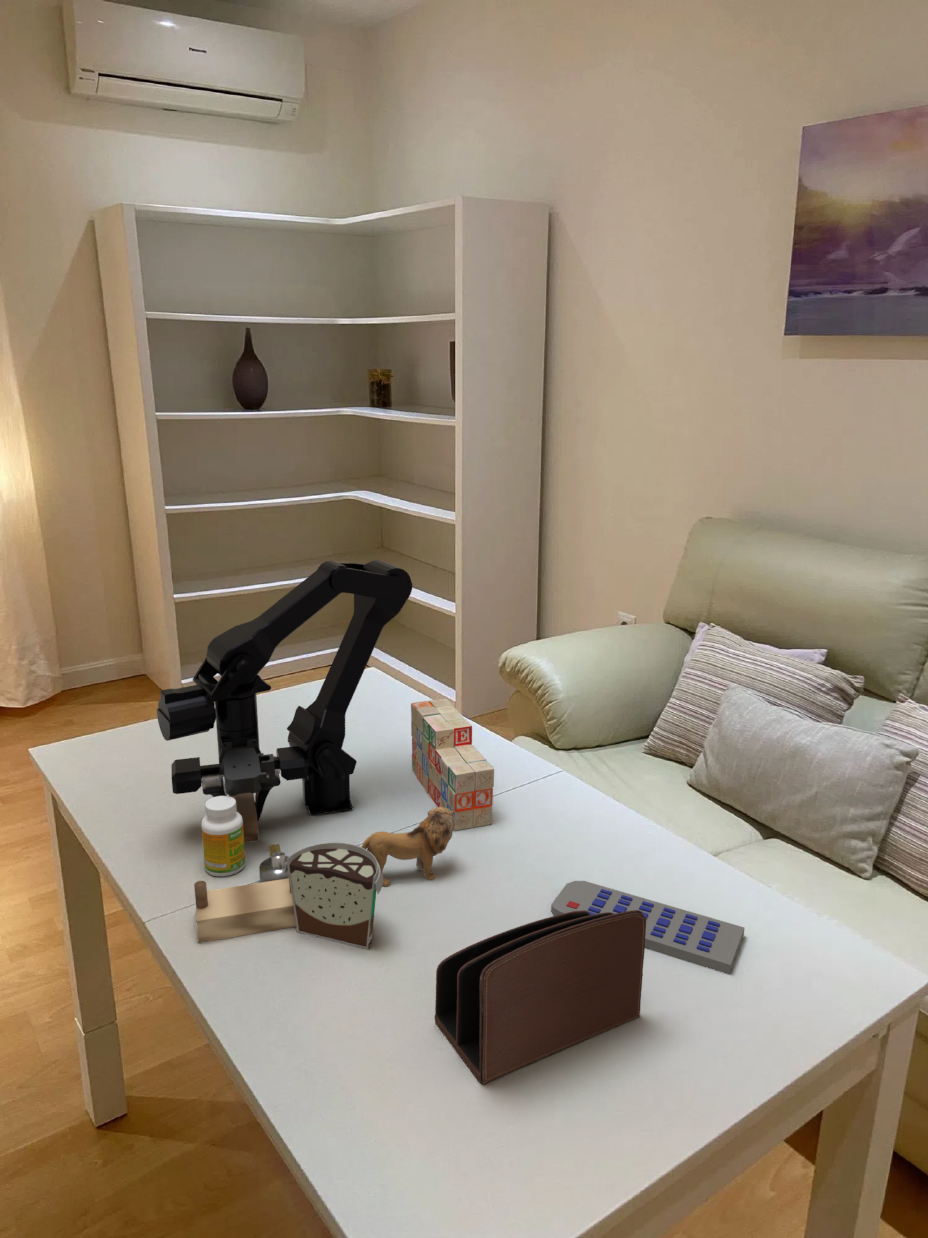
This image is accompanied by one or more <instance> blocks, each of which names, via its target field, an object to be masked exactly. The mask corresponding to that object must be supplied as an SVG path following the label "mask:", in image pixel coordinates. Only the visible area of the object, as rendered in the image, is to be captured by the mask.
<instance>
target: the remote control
mask: <svg viewBox="0 0 928 1238" xmlns="http://www.w3.org/2000/svg"><path fill="white" fill-rule="evenodd" d="M582 910H586V911H588V912H589V913H590V915H594V914H599V913H605V912H611V913H613V914H617V913H621V912H626V911H631V910H639V911H641V912H642V913H643V914H644V916H645V918H646V935H645V949H647V950H650V951H653V952H657V953H659V954H662V955H665V956H668V957H669V956H670V957H672V958H676V959H678V960H681V961H685V962H687V963H691V964H694V965H698V966H701V967H704V968H706V967H708V968H707V969H710V970H713V969H714V971H716V972H719V973H722V972H723V974H726V975H729V974H731V971H732V970H733V967H732V966H734V964H733V963H735V961H736V958H737V956H736V955H738V953H739V951H740V948H741V945H740V944H742V942H743V940H742V939H744V937H745V927H743V926H740V925H737V924H734V923H730V922H727V921H723V920H720V919H716V918H714V917H713V918H712V917H709V916H706V915H704V914H700V913H696V912H693V911H690V910H685V909H682V908H679V907H676V906H672V905H668V904H665V903H662V902H658V901H655V900H651V899H647V898H644V897H641V896H638V895H634V894H631V893H627V892H624V891H621V890H618V889H615V888H611V887H606V886H603V885H600V884H596V883H593V882H589V881H586V880H573V881H570V882H568V883H566V884H565V885H564V887H563V888H562V889H561V891H560V892H559V893H558V894H557V896H556V897H555V899H554V900H553V901H552V902H551V905H550V912H551V914H552V916H556V915H560V914H564V913H568V912H572V911H582ZM743 936H744V937H743ZM739 947H740V948H739Z"/></svg>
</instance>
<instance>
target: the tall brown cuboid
mask: <svg viewBox="0 0 928 1238" xmlns="http://www.w3.org/2000/svg"><path fill="white" fill-rule="evenodd" d="M228 796H230V795H228ZM230 797H233V798H234V799H235V800H236V809H237V812H238V813H239V814H240V815H241V816H242V819H243V831H244V844H247V843H251V842H252V843H253V842H259V841H260V840H259V827H258V824H259V823H258V822H259V821H257V812H256V806H255V793H243V794H238V795H236V796H230Z"/></svg>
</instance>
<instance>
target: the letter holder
mask: <svg viewBox="0 0 928 1238" xmlns="http://www.w3.org/2000/svg"><path fill="white" fill-rule="evenodd" d="M645 935H646V918H645V916H644V914H643V913H642V912H641V911H639V910H631V911H626V912H621V913H617V914H613V913H611V912H605V913H599V914H594V915H590V913H589V912H588V911H586V910H582V911H572V912H568V913H564V914H560V915H556V916H553V915H552V916H549V917H545V918H542V919H539V920H535V921H532V922H529V923H526V924H522V925H520V926H516V927H514V928H511V929H508V930H505V931H502V932H499V933H497V934H494V935H493V936H490V937H487V938H484V939H482V940H480V941H478V942H475V943H473V944H470V945H468V946H466V947H464V948H462V949H460V950H458V951H457V952H454V953H453V954H450V955H449V956H447V957H446V958H444V959H443V960H441V962H440V963H439V964H438V965H437V968H436V971H435V973H436V975H435V1008H434V1009H435V1011H434V1012H435V1014H434V1022H435V1024H436V1026H438V1028H439V1029H440V1030H441V1032H442V1033H443V1035H444V1036H445V1037H446V1039H447V1040H448V1041H449V1043H450V1044H451V1046H452V1047H453V1048H454V1050H455V1051H456V1052H457V1053H458V1056H460V1057H461V1060H462V1061H463V1062H464V1064H465V1065H466V1067H468V1069H469V1070H470V1071H471V1072H472V1074H473V1075H474V1076H475V1079H477V1081H478V1082H479V1083H480V1084H481V1085H486V1084H487V1083H489V1082H491V1081H494V1080H496V1079H498V1078H500V1077H503V1076H505V1075H507V1074H509V1073H511V1072H513V1071H516V1070H518V1069H520V1068H523V1067H525V1066H528V1065H530V1064H532V1063H535V1062H537V1061H540V1060H542V1059H544V1058H546V1057H549V1056H551V1055H554V1054H556V1053H558V1052H561V1051H563V1050H565V1049H568V1048H570V1047H573V1046H575V1045H577V1044H579V1043H582V1042H585V1041H586V1040H588V1039H591V1038H593V1037H595V1036H598V1035H600V1034H602V1033H605V1032H607V1031H609V1030H612V1029H615V1028H616V1027H617V1028H618V1027H619V1026H621V1025H624V1024H625V1023H628V1022H630V1021H633V1020H635V1019H638V1018H640V1015H641V1000H642V988H643V976H644V972H643V971H644V961H645V949H646V948H645Z"/></svg>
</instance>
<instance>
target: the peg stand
mask: <svg viewBox="0 0 928 1238" xmlns="http://www.w3.org/2000/svg"><path fill="white" fill-rule="evenodd" d="M193 887H194V898H195V899H194V900H195V915H196V928H197V931H196V932H197V940H198V943H199V944H200V943H205V942H211V941H217V940H223V939H229V938H234V937H241V936H242V937H243V936H247V935H254V934H259V933H265V932H272V931H277V930H282V929H289V928H295V927H296V928H297V926H296V919H295V913H294V906H293V900H292V893H291V887H290V880H289V878H288V879H281V880H275V881H268V882H262V883H260V882H257V883H249V884H243V885H237V886H230V887H229V886H228V887H223V888H217V889H210V890H208V889H207V882H206V880H198V881H195V882H194V884H193Z"/></svg>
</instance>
